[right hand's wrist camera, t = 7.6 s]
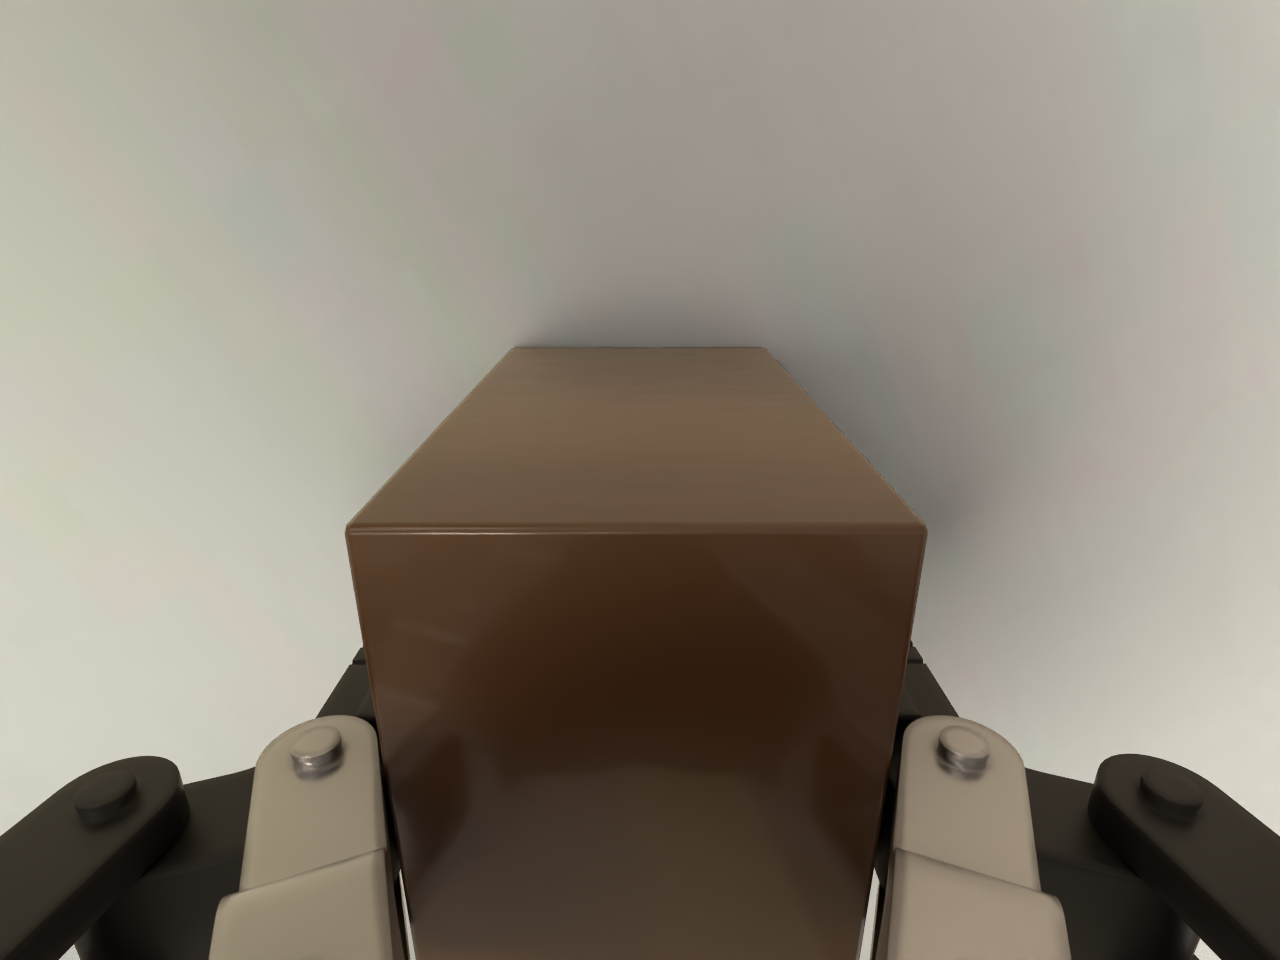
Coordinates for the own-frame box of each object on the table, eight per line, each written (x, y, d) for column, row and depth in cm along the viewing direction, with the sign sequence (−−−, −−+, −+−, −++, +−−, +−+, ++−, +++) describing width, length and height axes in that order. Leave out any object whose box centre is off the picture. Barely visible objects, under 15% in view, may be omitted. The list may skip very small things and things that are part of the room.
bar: (509, 347, 15) (338, 526, 6) (766, 346, 15) (932, 525, 6) (557, 1057, 23) (510, 1539, 15) (721, 1056, 23) (768, 1540, 15)
